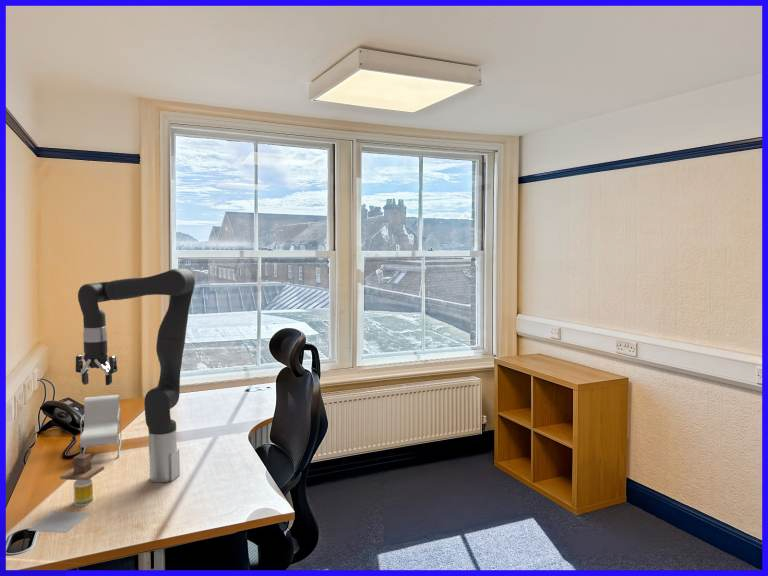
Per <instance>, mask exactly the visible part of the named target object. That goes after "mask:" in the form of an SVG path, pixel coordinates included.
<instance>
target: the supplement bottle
mask: <svg viewBox="0 0 768 576" xmlns="http://www.w3.org/2000/svg"><path fill="white" fill-rule="evenodd" d="M93 501H94V492H93V479H92V478H90V479H89V480H87V481H85V480H74V482H73V502H74V503H73V504H74V505H75V506H80V507H81V506H86V505H90V504H91V503H92V502H93Z"/></svg>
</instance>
